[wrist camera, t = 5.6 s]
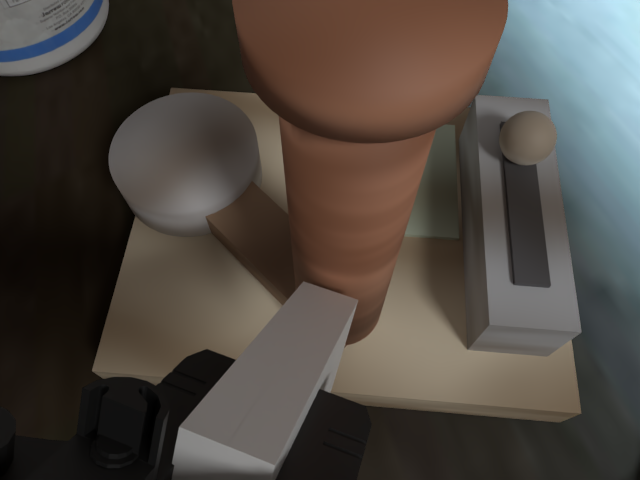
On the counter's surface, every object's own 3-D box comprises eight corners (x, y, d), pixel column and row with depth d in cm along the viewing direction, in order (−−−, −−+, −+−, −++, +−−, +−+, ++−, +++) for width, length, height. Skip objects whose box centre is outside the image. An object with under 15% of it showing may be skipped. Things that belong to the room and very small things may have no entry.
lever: (97, 174, 24) (-163, -230, 11) (205, 102, 26) (91, -315, 13) (317, 413, 19) (315, 196, 6) (428, 302, 21) (602, -37, 8)
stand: (180, 114, 28) (140, -1, 22) (526, 138, 28) (588, 25, 21) (110, 383, 22) (26, 327, 16) (559, 422, 21) (660, 381, 15)
